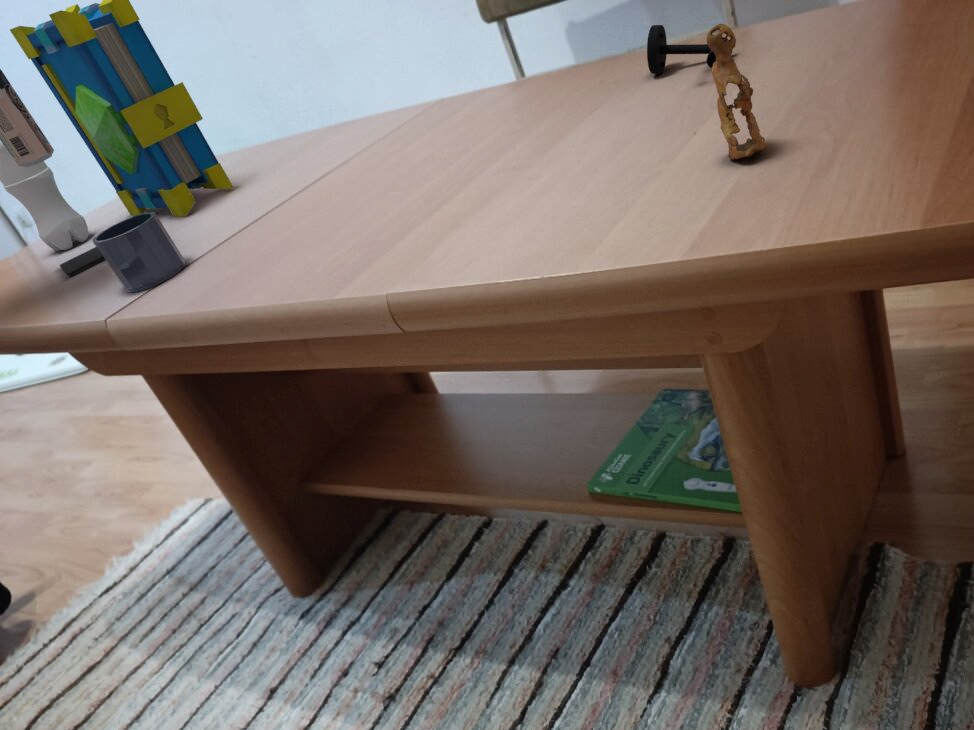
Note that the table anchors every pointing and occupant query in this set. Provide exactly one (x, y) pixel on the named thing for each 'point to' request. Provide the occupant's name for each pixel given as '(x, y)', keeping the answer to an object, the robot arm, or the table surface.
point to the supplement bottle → (20, 129)
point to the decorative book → (124, 105)
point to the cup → (140, 252)
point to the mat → (82, 262)
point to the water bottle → (42, 202)
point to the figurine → (729, 73)
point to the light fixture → (670, 50)
